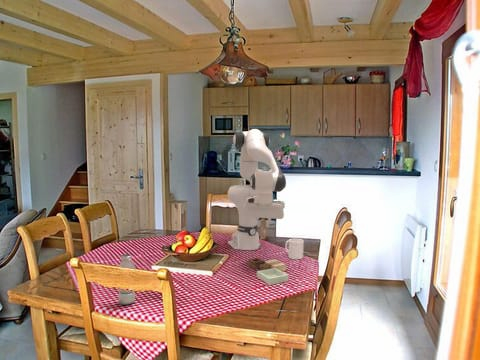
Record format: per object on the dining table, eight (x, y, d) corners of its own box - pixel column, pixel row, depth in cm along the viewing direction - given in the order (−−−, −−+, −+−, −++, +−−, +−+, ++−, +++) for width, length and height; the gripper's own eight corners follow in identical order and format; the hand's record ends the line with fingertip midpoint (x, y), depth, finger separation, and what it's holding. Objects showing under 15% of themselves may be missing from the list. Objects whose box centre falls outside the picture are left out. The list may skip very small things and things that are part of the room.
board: (263, 268, 200) (264, 261, 200) (275, 266, 203) (275, 259, 203) (274, 274, 191) (274, 266, 191) (285, 272, 195) (286, 264, 194)
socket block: (248, 266, 202) (248, 259, 201) (257, 264, 204) (258, 257, 204) (254, 270, 196) (254, 262, 196) (263, 268, 199) (264, 260, 199)
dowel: (260, 239, 190) (260, 219, 190) (260, 238, 193) (261, 218, 192) (265, 239, 190) (265, 219, 189) (265, 238, 192) (266, 218, 192)
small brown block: (259, 270, 196) (259, 265, 195) (266, 269, 198) (266, 263, 197) (263, 273, 192) (263, 267, 192) (270, 271, 194) (270, 266, 194)
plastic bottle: (120, 299, 158) (119, 252, 155) (136, 299, 158) (136, 252, 156) (116, 306, 151) (115, 257, 149) (133, 306, 152) (133, 257, 150)
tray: (256, 277, 186) (256, 271, 186) (275, 273, 191) (275, 267, 191) (269, 285, 176) (269, 278, 176) (288, 281, 182) (288, 275, 182)
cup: (296, 260, 213) (297, 243, 212) (280, 255, 221) (281, 238, 220) (305, 257, 218) (306, 240, 217) (289, 253, 227) (290, 236, 226)
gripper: (285, 199, 191) (284, 226, 192) (245, 197, 195) (244, 224, 196) (284, 201, 185) (283, 229, 186) (242, 199, 189) (242, 226, 190)
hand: (263, 226), depth 191 cm, fingers closed on dowel, 2 cm apart
